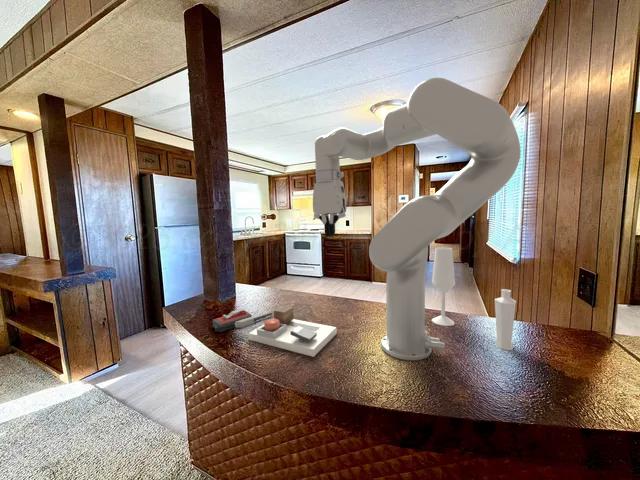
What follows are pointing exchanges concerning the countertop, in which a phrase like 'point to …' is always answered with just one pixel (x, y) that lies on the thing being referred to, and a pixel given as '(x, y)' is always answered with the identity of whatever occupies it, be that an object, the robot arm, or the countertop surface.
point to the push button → (271, 325)
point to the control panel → (293, 343)
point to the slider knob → (284, 314)
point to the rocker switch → (303, 333)
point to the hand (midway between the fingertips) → (330, 236)
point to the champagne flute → (443, 280)
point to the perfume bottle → (504, 319)
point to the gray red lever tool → (235, 320)
